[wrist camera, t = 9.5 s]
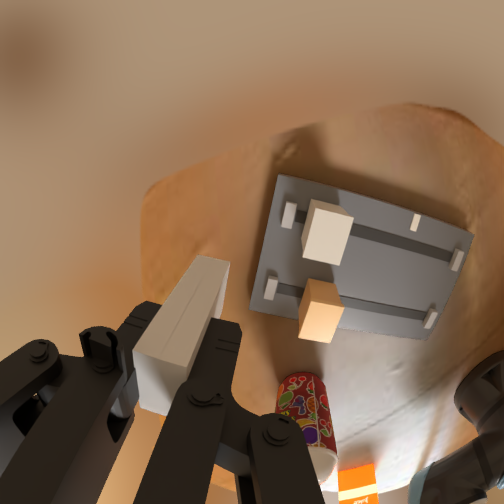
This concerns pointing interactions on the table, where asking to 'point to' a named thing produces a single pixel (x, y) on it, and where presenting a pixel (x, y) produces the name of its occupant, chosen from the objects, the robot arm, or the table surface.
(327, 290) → the orange fader
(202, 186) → the table surface
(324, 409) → the smoothie
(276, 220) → the fader console
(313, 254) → the cream fader
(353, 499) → the orange juice
